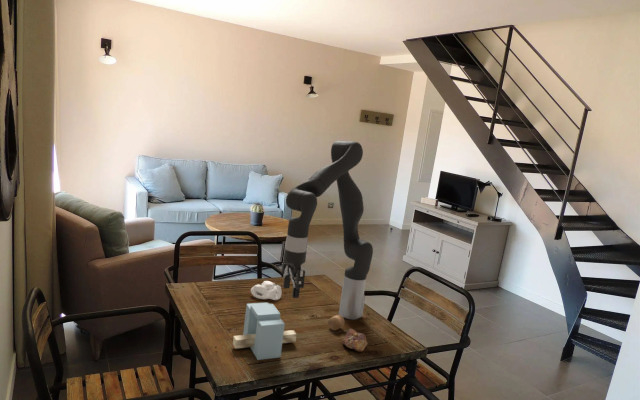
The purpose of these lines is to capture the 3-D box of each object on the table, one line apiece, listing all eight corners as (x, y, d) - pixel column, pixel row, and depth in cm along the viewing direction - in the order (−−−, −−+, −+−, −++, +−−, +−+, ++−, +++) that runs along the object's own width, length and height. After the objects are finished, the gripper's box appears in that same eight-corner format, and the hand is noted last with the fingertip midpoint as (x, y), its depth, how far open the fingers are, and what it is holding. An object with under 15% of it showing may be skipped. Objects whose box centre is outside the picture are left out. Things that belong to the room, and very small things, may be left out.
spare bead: (332, 324, 178) (334, 312, 178) (343, 329, 176) (345, 317, 175) (327, 327, 175) (329, 315, 174) (338, 332, 172) (339, 320, 172)
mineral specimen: (332, 336, 165) (342, 320, 166) (344, 343, 169) (354, 327, 171) (353, 351, 155) (363, 334, 157) (365, 358, 160) (375, 341, 161)
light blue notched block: (264, 333, 164) (268, 298, 162) (280, 357, 149) (285, 319, 147) (243, 335, 160) (247, 299, 158) (257, 359, 145) (262, 321, 143)
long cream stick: (292, 337, 161) (293, 330, 161) (295, 341, 158) (296, 334, 158) (232, 344, 151) (233, 335, 151) (235, 348, 148) (236, 340, 148)
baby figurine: (247, 297, 195) (252, 277, 199) (271, 305, 201) (276, 286, 205) (257, 295, 188) (263, 275, 192) (282, 304, 194) (286, 284, 198)
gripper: (314, 254, 148) (308, 300, 150) (298, 241, 160) (292, 284, 163) (293, 255, 144) (288, 301, 147) (278, 242, 157) (273, 285, 160)
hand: (290, 292), depth 155 cm, fingers open, 8 cm apart
